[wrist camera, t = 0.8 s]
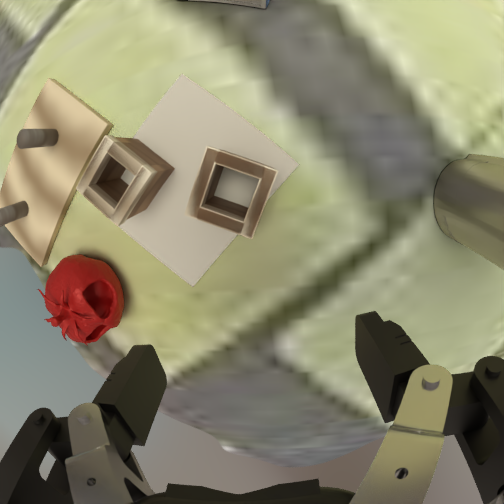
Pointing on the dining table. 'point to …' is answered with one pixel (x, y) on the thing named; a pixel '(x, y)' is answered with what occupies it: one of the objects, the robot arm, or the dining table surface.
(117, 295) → the pomegranate
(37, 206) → the pin board
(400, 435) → the robot arm
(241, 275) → the dining table surface
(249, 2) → the ink cartridge box
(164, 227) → the mat
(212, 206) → the sleeve
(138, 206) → the sleeve
